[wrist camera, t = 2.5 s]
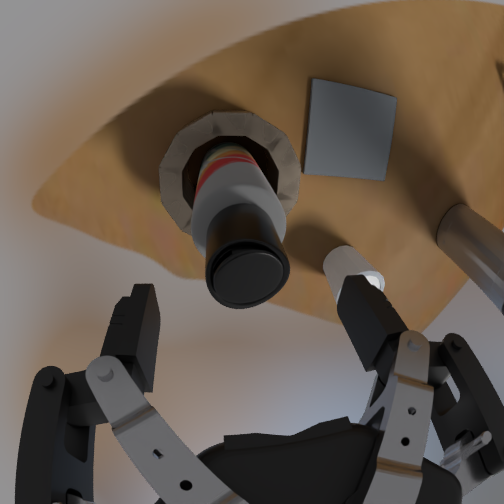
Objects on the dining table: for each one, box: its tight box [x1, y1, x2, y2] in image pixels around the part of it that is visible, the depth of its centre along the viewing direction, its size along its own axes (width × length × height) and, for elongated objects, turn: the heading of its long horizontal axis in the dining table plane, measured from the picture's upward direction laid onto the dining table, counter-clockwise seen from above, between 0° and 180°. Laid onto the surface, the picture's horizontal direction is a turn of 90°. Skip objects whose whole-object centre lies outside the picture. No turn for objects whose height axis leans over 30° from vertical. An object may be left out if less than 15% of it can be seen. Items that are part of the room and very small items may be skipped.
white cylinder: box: [323, 245, 385, 303], centre depth 35 cm, size 7×7×7 cm
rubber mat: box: [303, 78, 397, 181], centre depth 28 cm, size 11×11×1 cm
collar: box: [159, 110, 301, 236], centre depth 26 cm, size 12×12×6 cm
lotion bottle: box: [191, 142, 290, 309], centre depth 20 cm, size 6×6×20 cm
